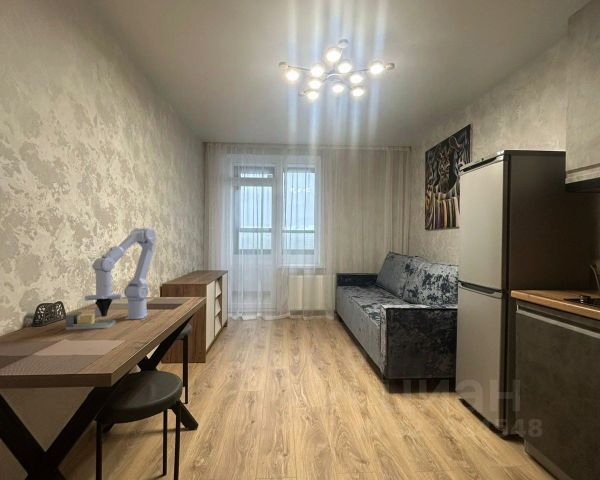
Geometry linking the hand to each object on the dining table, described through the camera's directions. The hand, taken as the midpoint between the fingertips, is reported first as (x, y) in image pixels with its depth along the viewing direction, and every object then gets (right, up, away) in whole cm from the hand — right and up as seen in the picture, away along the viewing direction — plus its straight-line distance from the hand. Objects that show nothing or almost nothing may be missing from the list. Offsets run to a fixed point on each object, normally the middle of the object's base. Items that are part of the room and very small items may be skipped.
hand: (104, 316), depth 140 cm
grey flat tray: (-6, -5, 0) cm, 7 cm away
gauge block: (-7, -3, -1) cm, 8 cm away
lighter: (-13, -5, +20) cm, 24 cm away
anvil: (-12, -5, -2) cm, 13 cm away
